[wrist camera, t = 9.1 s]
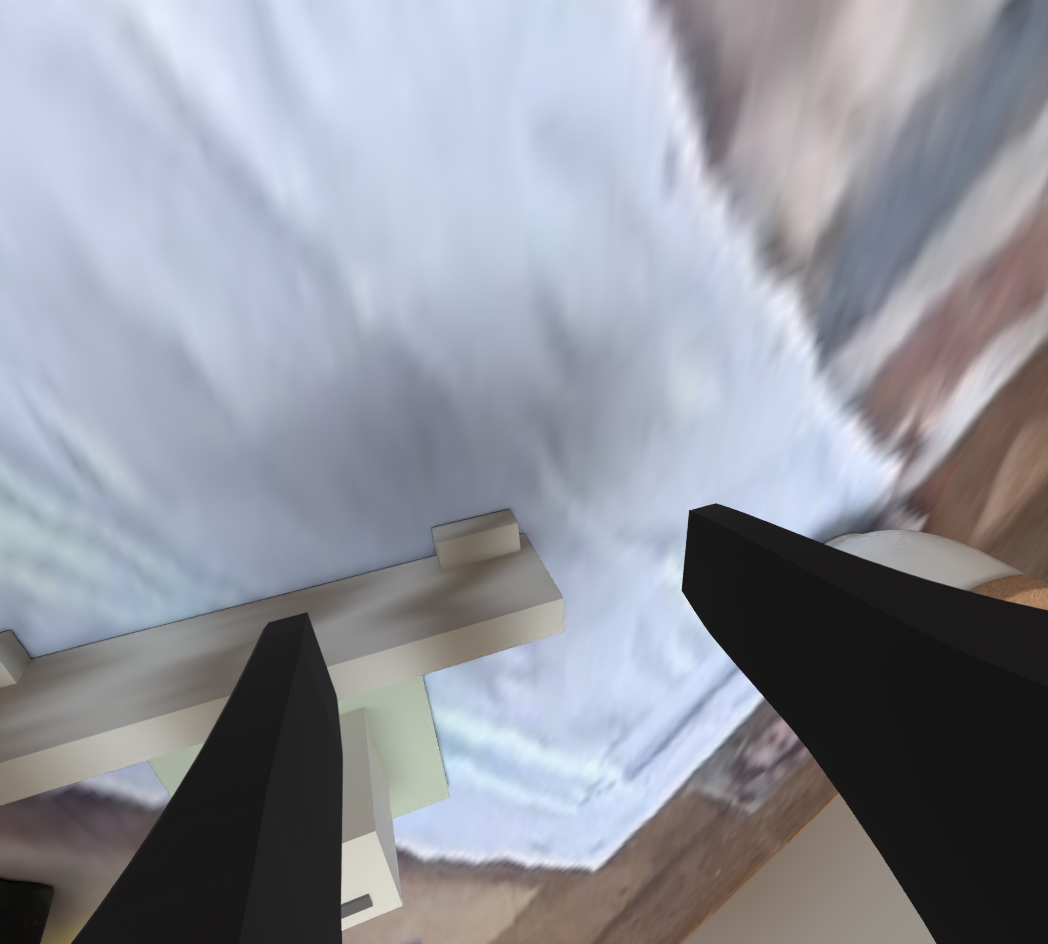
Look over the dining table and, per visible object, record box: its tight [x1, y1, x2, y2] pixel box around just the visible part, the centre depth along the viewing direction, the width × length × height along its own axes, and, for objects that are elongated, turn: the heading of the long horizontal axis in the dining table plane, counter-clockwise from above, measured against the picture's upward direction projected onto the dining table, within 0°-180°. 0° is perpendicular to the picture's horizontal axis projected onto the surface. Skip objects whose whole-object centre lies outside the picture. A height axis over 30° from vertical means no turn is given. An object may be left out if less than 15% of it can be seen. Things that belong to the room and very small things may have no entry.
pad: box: [147, 676, 450, 819], centre depth 23 cm, size 10×10×1 cm
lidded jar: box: [824, 530, 1048, 610], centre depth 26 cm, size 11×11×9 cm
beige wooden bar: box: [0, 509, 565, 806], centre depth 18 cm, size 20×4×4 cm, turn 95°
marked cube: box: [339, 707, 403, 930], centre depth 20 cm, size 5×5×5 cm
